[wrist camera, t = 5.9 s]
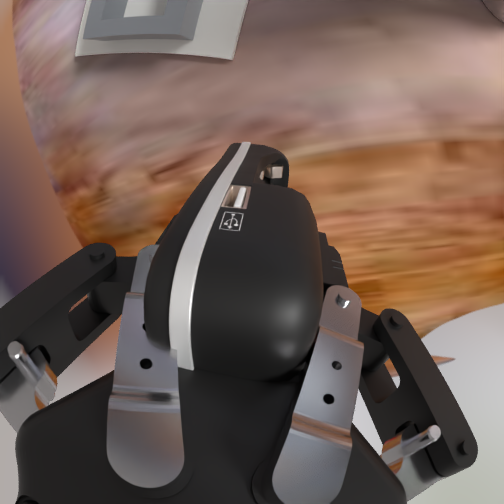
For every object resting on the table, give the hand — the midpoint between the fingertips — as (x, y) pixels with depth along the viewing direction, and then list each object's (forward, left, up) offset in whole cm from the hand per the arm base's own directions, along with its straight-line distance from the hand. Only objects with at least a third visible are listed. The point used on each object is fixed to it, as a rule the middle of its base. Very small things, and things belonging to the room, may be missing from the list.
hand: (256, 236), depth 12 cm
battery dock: (+14, -16, -17) cm, 28 cm away
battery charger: (0, 0, -4) cm, 4 cm away
